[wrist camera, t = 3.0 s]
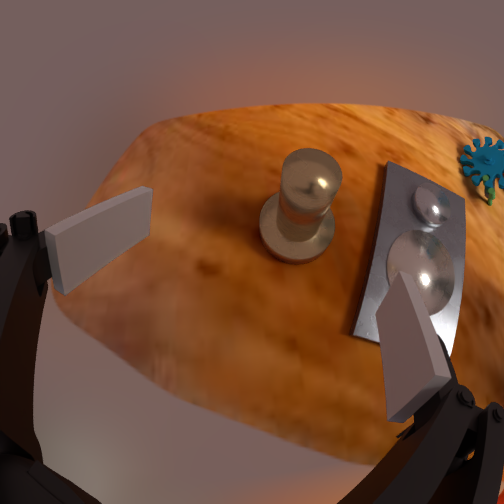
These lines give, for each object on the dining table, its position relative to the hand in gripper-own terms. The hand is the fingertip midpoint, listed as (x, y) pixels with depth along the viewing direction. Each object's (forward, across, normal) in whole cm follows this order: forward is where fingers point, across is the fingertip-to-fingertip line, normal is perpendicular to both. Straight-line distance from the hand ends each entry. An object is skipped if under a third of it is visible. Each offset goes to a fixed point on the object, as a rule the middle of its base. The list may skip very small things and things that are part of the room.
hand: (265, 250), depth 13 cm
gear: (+27, +25, +10) cm, 38 cm away
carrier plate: (+15, +15, -2) cm, 21 cm away
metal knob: (+14, +1, -4) cm, 14 cm away
